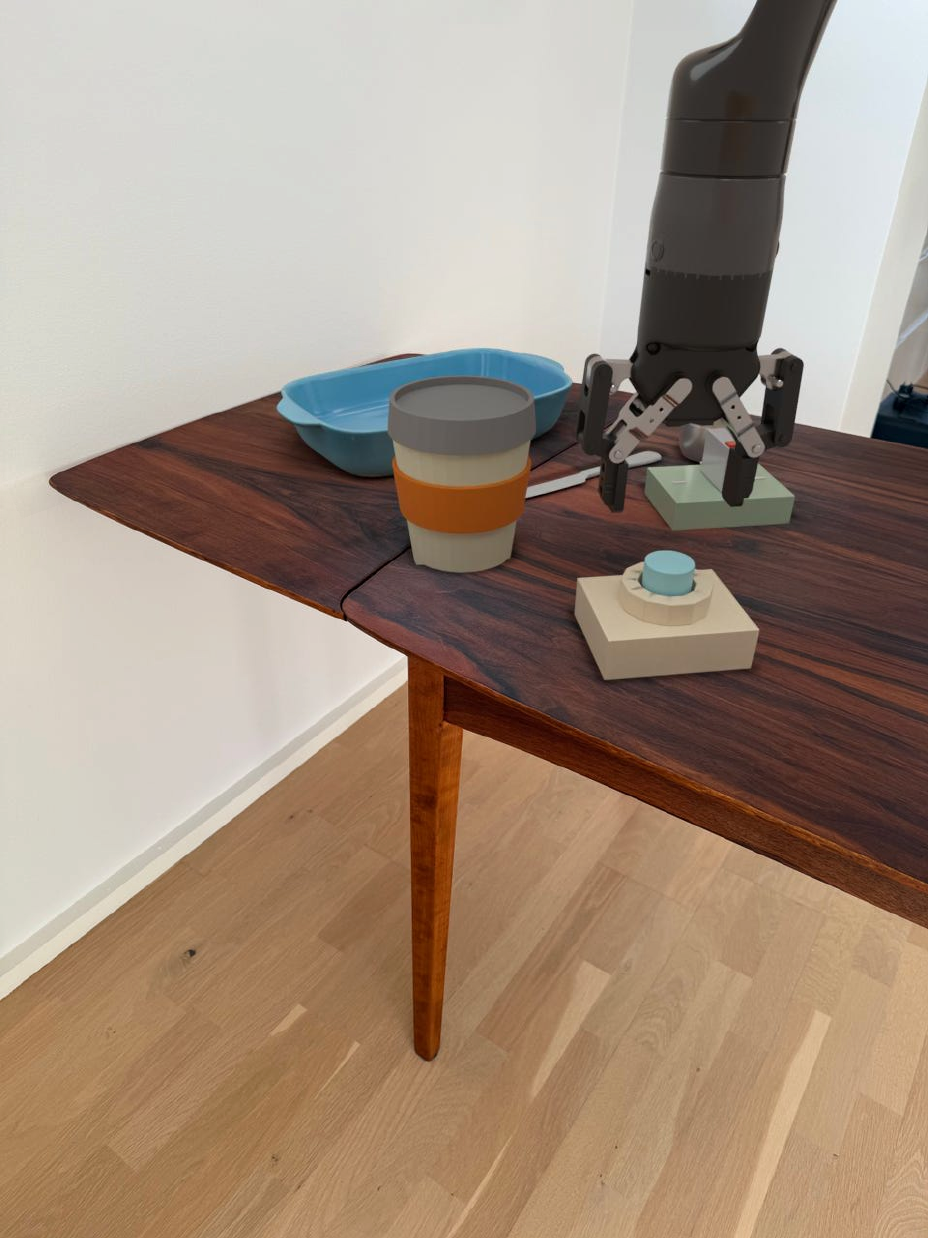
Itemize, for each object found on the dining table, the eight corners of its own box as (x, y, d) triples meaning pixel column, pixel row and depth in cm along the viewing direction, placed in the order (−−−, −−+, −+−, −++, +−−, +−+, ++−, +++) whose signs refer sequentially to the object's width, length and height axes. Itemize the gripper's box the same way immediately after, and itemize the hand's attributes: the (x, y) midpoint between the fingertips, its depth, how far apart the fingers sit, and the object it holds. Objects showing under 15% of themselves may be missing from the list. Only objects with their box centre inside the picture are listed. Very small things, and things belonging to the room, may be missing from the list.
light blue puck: (681, 572, 64) (685, 548, 63) (698, 596, 61) (702, 571, 60) (635, 575, 64) (638, 551, 63) (650, 600, 61) (653, 575, 60)
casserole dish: (331, 504, 88) (325, 438, 84) (253, 440, 104) (245, 382, 100) (604, 436, 105) (609, 378, 101) (501, 390, 121) (502, 338, 117)
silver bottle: (709, 474, 95) (740, 285, 84) (663, 456, 99) (687, 274, 88) (746, 461, 98) (780, 277, 87) (700, 444, 102) (727, 268, 92)
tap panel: (750, 486, 92) (755, 458, 90) (790, 525, 84) (797, 496, 82) (642, 492, 91) (646, 464, 89) (673, 532, 82) (677, 502, 81)
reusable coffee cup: (558, 556, 78) (568, 396, 70) (460, 606, 71) (459, 433, 63) (463, 514, 86) (463, 366, 78) (366, 555, 78) (354, 395, 70)
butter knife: (668, 456, 98) (650, 449, 100) (496, 504, 87) (480, 495, 89) (667, 460, 98) (649, 452, 100) (496, 508, 87) (480, 498, 89)
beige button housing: (704, 613, 70) (715, 548, 67) (749, 677, 62) (764, 608, 59) (573, 622, 69) (578, 557, 65) (603, 689, 61) (611, 619, 58)
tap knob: (700, 470, 88) (707, 426, 85) (716, 469, 88) (724, 425, 85) (720, 492, 83) (728, 445, 81) (738, 491, 83) (746, 445, 81)
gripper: (794, 245, 55) (748, 480, 63) (578, 249, 53) (561, 488, 62) (853, 267, 48) (793, 524, 57) (610, 271, 47) (586, 534, 56)
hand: (672, 505), depth 60 cm, fingers open, 8 cm apart
